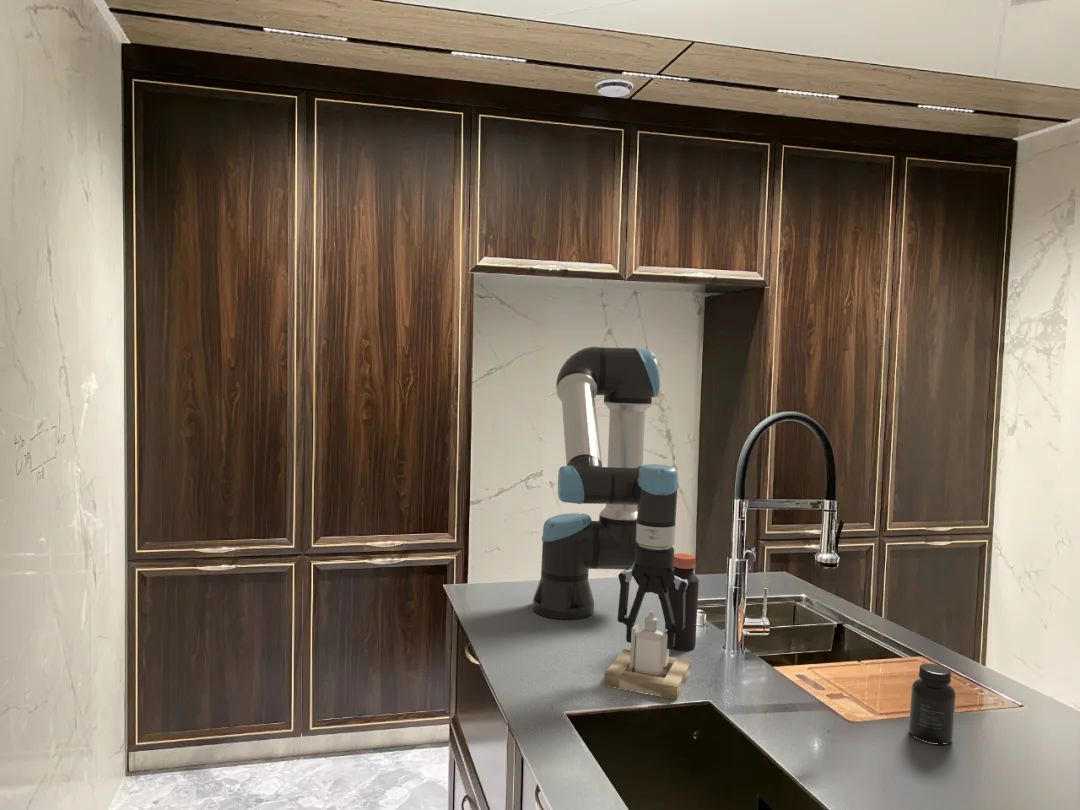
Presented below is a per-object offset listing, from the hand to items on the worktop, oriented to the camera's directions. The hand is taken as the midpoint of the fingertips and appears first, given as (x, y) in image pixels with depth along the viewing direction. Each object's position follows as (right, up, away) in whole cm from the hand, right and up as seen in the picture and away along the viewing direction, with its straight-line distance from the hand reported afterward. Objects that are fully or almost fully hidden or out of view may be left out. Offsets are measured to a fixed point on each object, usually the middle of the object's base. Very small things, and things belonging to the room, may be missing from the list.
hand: (649, 661), depth 159 cm
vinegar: (+9, -3, +19) cm, 21 cm away
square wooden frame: (0, -4, 0) cm, 4 cm away
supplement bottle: (+46, -7, -19) cm, 50 cm away
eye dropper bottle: (0, -2, 0) cm, 2 cm away
